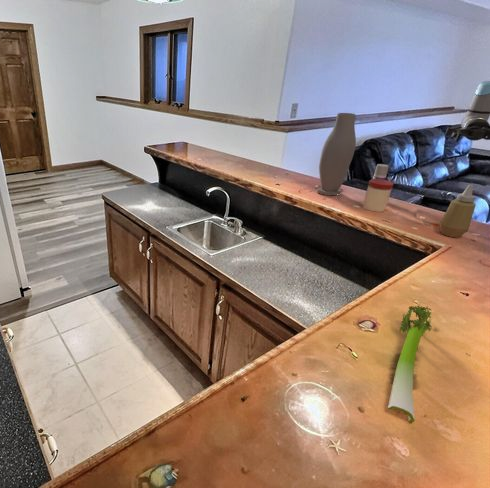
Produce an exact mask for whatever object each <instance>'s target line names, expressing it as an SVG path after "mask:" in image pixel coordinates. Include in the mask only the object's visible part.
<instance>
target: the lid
mask: <svg viewBox="0 0 490 488" xmlns="http://www.w3.org/2000/svg"><path fill="white" fill-rule="evenodd" d="M394 184H395V183H394V182H393V181H390V180H387V179H385V180H382V179H373V178H372V179H370V180H368V185H369V186H371V187H373V188H377V189H392V190H393V187H394Z"/></svg>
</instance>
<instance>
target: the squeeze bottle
mask: <svg viewBox="0 0 490 488" xmlns="http://www.w3.org/2000/svg"><path fill="white" fill-rule="evenodd" d="M473 191H474V184H471V183H470V184H469V183H468V185H467V186H466V188H465V190H464V191H463V192H462V193H461V192H460V193H457V196H456V198H454V199H452V200H451V201H450V204H449V206H448V207H447V209H446V211H445V212H444V215H443V217H442V218H441V220H440V224H439V225H440V227H439V229H440V231H439V232H440V234H442V235H444V236H446V237H450V238H454V239H455V238H461V237H462V236H464V235H465V234H466V232H467V231H468V230H469V229H470V227H471V222H472V219H473V215H474V213H475V209H476V205H477V204H476V203H475V199H476V196H475V195H474V194H473Z"/></svg>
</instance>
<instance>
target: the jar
mask: <svg viewBox="0 0 490 488" xmlns="http://www.w3.org/2000/svg"><path fill="white" fill-rule="evenodd" d="M392 190H393V188H392V189H377V188H373V187H371V186H369V184H368V186H367V188H366V192H365V197H364V200H363V203H362V208H363V209H365V210H367V211H370V212H375V213H376V212H377V213H382V212H385V211H386V209H387V206H388V204H389V203H388V202H389V199H390V197H391V193H392Z"/></svg>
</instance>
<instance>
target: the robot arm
mask: <svg viewBox="0 0 490 488" xmlns="http://www.w3.org/2000/svg"><path fill="white" fill-rule="evenodd" d="M489 119H490V80H483V81H481V82H480V83H479V84H478V86H477V87H476V90H475V91H474V94H473V97H472V99H471V101H470V104H469V107H468V109H467V111H466V113H465V115H464V117H463V118H462V119H461V122H460V124H457V125H456V126H452V127H448V128H447V129H446V130H445V131H446V132H445V133H444V136H446V137H447V136H450V137H449V139H451V140H454V141H455V142H456V143H459V141H460V138H461V137H465V138H466V139H467V140H470V141H473V142H474V141H480V140H485V141H490V123H489V121H488V120H489Z"/></svg>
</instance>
